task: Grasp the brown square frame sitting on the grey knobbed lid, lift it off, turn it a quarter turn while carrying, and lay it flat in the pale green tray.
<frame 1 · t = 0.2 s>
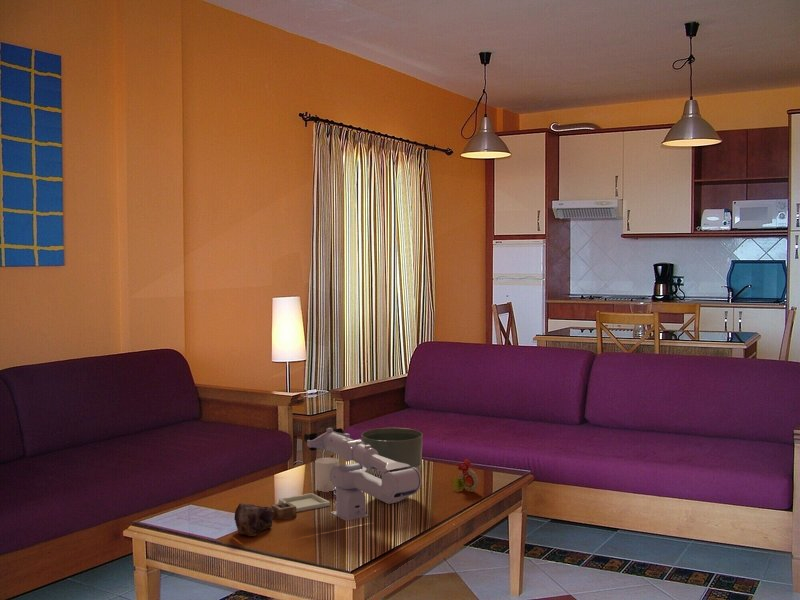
hand: (315, 435, 269), 21 cm above the table, tool horizontal, fingers open, 7 cm apart
rock: (251, 533, 239), on the table
grey knobbed lid: (283, 516, 253), on the table
tray: (304, 505, 265), on the table
planter: (392, 500, 271), on the table
white cup: (327, 490, 283), on the table
bird rattle: (466, 491, 280), on the table
brown square frame: (283, 515, 253), resting on grey knobbed lid
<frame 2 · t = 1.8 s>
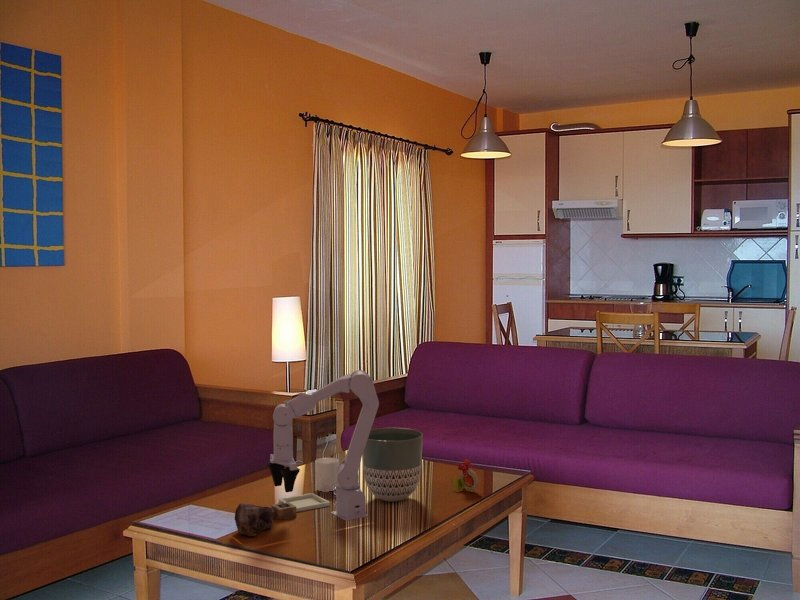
hand: (283, 488, 253), 9 cm above the table, tool pointing down, fingers open, 7 cm apart
nothing on the table moved.
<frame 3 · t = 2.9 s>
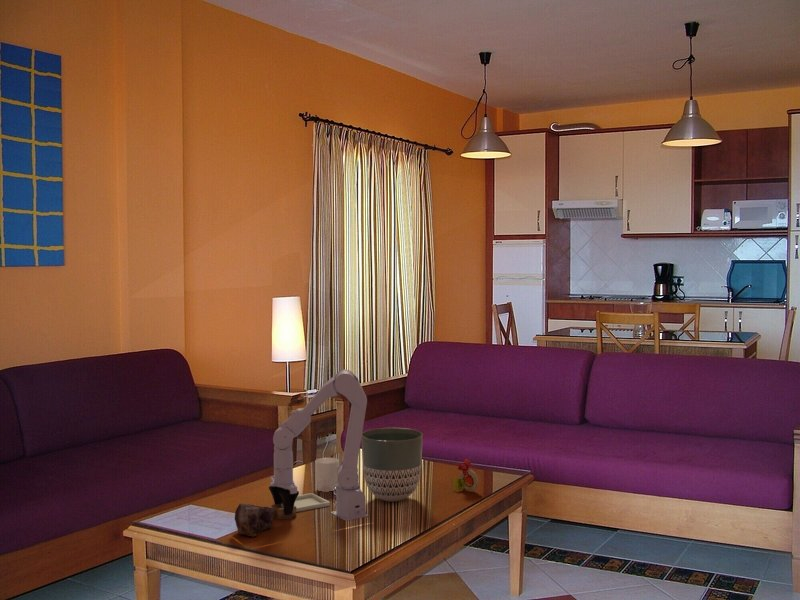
hand: (283, 511, 253), 2 cm above the table, tool pointing down, fingers closed on brown square frame, 6 cm apart
brown square frame: (283, 515, 253), resting on grey knobbed lid, touching gripper
everything else where it was.
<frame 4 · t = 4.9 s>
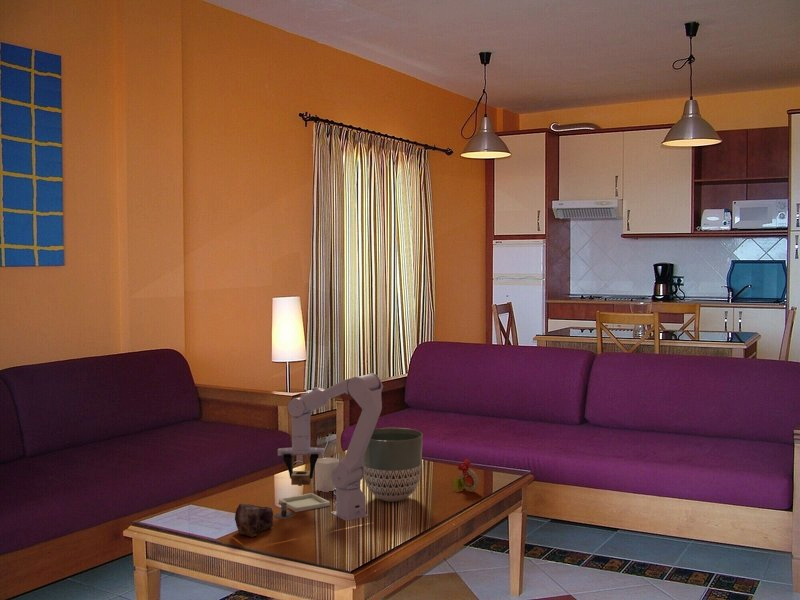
hand: (301, 477, 263), 9 cm above the table, tool pointing down, fingers closed on brown square frame, 6 cm apart
brown square frame: (301, 482, 263), point 8 cm above the table, touching gripper
everything else where it was.
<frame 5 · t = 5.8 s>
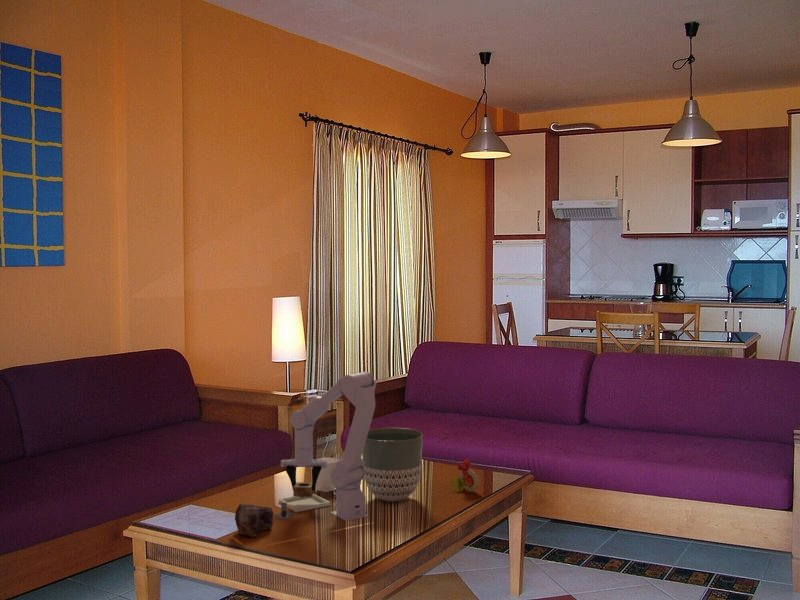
hand: (304, 489, 265), 5 cm above the table, tool pointing down, fingers closed on brown square frame, 6 cm apart
brown square frame: (304, 494, 265), point 4 cm above the table, touching gripper
everything else where it was.
when the fingers open (3 cm above the table, at t = 6.8 s): brown square frame drops 1 cm, resting on tray.
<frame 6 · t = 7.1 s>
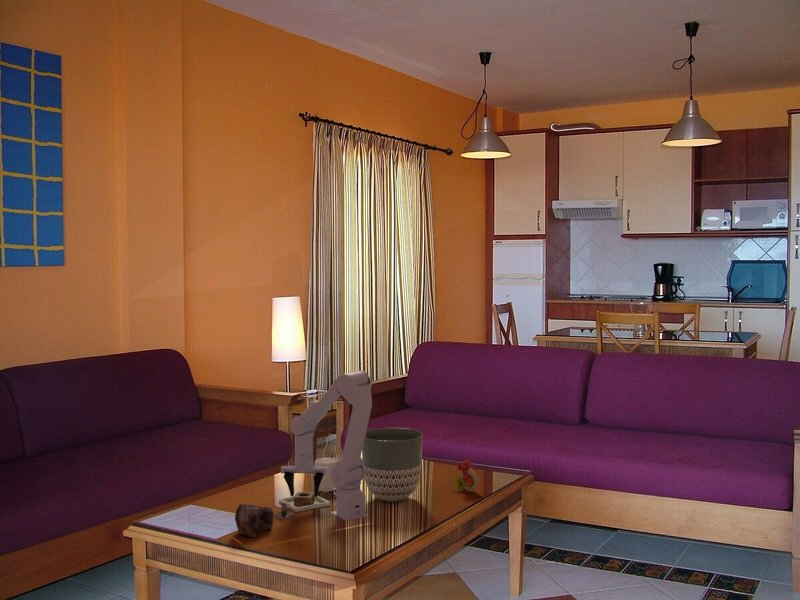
hand: (304, 495, 265), 3 cm above the table, tool pointing down, fingers open, 7 cm apart
brown square frame: (304, 504, 265), resting on tray
everything else where it was.
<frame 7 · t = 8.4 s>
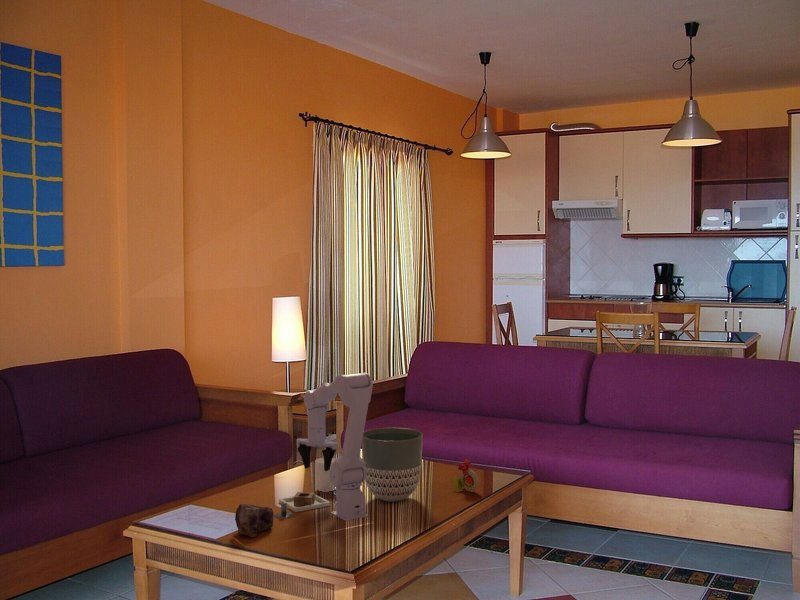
hand: (317, 469, 271), 10 cm above the table, tool pointing down, fingers open, 7 cm apart
nothing on the table moved.
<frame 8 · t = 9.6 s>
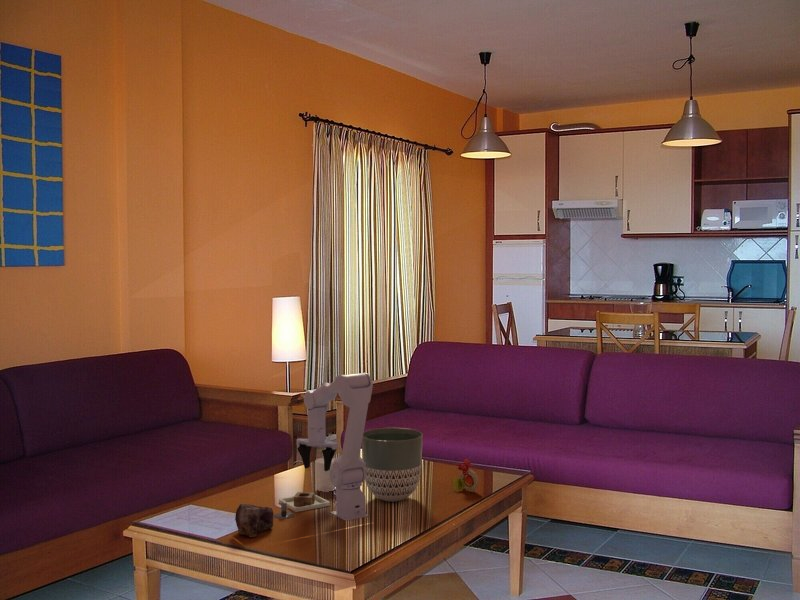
hand: (317, 469, 271), 10 cm above the table, tool pointing down, fingers open, 7 cm apart
nothing on the table moved.
at the end: brown square frame inside the target area on the tray (0.2 cm from its centre), point 0.4 cm above the tray's base; brown square frame tilted 0°; the gripper is holding nothing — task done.
